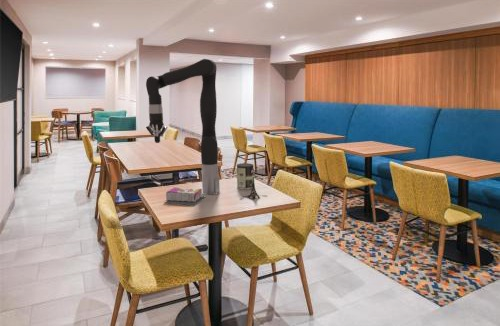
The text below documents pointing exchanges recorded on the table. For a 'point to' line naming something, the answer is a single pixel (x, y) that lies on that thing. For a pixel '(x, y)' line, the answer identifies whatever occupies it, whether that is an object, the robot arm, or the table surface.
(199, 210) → the table surface
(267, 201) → the table surface
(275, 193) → the table surface
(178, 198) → the candy bar box
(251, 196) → the eiffel tower figurine
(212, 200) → the table surface
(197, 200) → the place mat
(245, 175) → the coffee can
